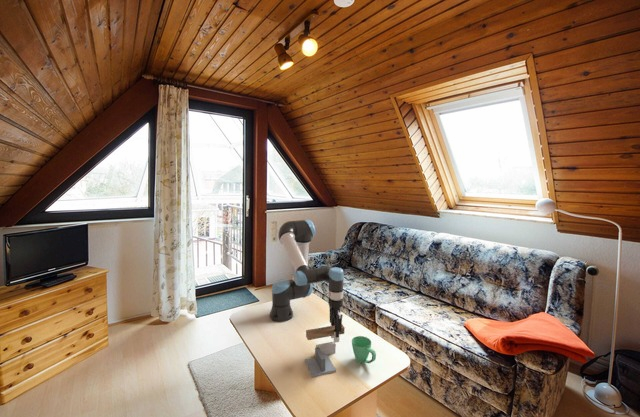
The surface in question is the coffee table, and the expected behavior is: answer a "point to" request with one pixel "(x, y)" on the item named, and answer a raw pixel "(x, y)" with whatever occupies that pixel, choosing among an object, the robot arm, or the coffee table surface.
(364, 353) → the mug
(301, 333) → the coffee table surface
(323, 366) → the fulcrum
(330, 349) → the post
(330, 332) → the plank
